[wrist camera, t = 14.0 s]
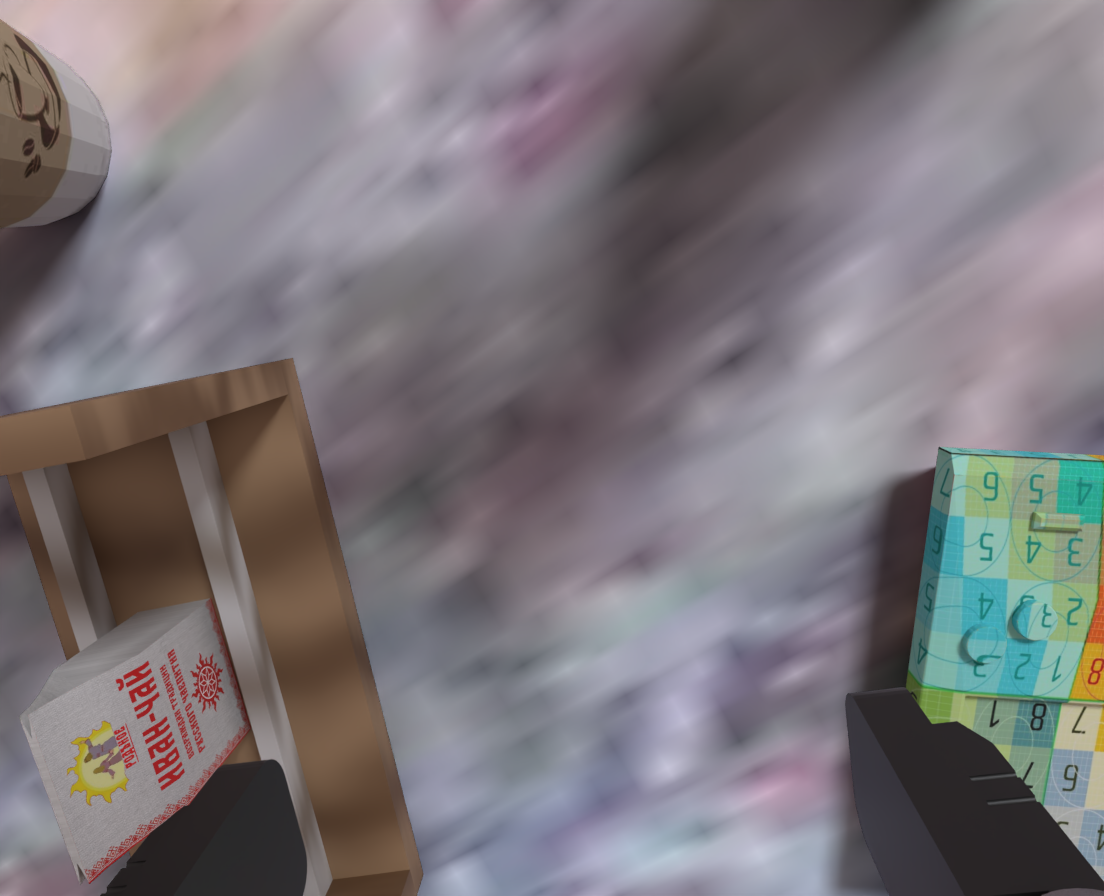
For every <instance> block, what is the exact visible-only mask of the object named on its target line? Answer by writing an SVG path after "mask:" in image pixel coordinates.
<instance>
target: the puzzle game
mask: <svg viewBox="0 0 1104 896" xmlns="http://www.w3.org/2000/svg"><path fill="white" fill-rule="evenodd" d="M906 689H907V690H908V691H909V692H910V693H911V695H912V696H913V698H914V699H915V701H916V702H917V703H918V705H919V706H920V708H921V709H922V711H923V712H924V713H925V715H926V716H927V718H928V719H929V720H930V722H931V723H932V724H936V723H945V722H954V721H958V722H959V723H961V724H963V725H964V726H966V727H967V728H969V729H971V730H972V731H974V732H976V733H977V734H979V735H980V736H982V737H984V738H985V739H987V740H989V741H990V742H992V743H993V744H994V745H995V746H996V748H997V749H998V750H999V751H1000V753H1001V754H1002V755H1003V756H1004V758H1005V759H1006V760H1007V761H1008V762H1009V764H1010V765H1011V766H1012V767H1013V769H1014V770H1015V771H1016V775H1017V777H1021V779H1022V780H1023V781H1024V782H1025V784H1026V785H1027V786H1028V787H1029V789H1030V790H1031V791H1032V792H1033V794H1034V795H1035V798H1036V801H1037V802H1041V804H1042V805H1043V806H1044V807H1045V809H1046V810H1047V811H1048V812H1049V814H1050V815H1051V816H1052V817H1053V819H1054V820H1055V821H1056V822H1057V824H1058V825H1059V826H1060V827H1061V829H1062V830H1063V831H1064V832H1065V834H1066V835H1067V836H1068V837H1069V839H1070V840H1071V841H1072V842H1073V844H1074V845H1075V846H1076V847H1077V849H1078V850H1079V851H1080V852H1081V854H1082V855H1083V856H1084V857H1085V859H1086V860H1087V861H1088V862H1089V864H1090V865H1091V866H1092V867H1093V869H1094V870H1095V871H1096V872H1097V874H1098V875H1099V876H1100V877H1101V879H1102V880H1103V881H1104V455H1084V454H1065V453H1045V452H1026V451H1006V450H987V449H967V448H948V447H939V449H938V455H937V462H936V469H935V477H934V484H933V491H932V499H931V506H930V513H929V521H928V528H927V535H926V543H925V550H924V557H923V565H922V572H921V579H920V587H919V594H918V601H917V608H916V616H915V623H914V630H913V638H912V645H911V652H910V660H909V667H908V674H907V682H906Z"/></svg>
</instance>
